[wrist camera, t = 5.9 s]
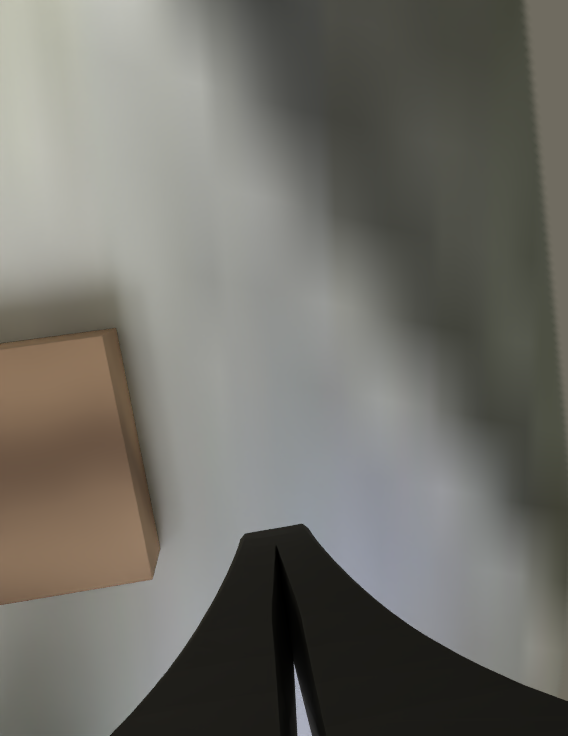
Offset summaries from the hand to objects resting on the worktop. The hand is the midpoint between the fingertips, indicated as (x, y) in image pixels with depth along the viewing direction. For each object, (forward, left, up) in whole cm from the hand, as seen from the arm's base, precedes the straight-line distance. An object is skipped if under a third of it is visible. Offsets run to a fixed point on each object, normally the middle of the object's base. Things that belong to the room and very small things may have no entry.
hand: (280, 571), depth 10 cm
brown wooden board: (0, +8, -10) cm, 12 cm away
